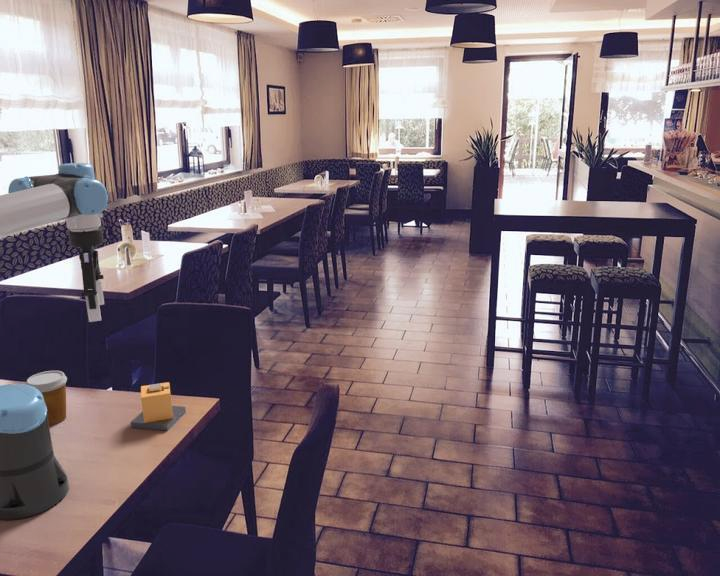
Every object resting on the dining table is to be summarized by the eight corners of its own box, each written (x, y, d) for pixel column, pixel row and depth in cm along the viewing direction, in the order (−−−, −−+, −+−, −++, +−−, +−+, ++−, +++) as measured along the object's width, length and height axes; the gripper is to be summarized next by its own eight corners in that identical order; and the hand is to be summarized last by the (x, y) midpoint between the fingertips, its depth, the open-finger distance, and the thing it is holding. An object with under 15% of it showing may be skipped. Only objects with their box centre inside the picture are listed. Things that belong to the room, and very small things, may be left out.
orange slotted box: (144, 422, 151) (140, 397, 149) (144, 410, 157) (140, 385, 155) (173, 418, 153) (170, 392, 151) (171, 406, 160) (169, 381, 158)
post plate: (167, 430, 150) (163, 396, 147) (131, 427, 152) (126, 393, 149) (185, 411, 159) (182, 379, 157) (151, 409, 161) (147, 376, 159)
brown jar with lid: (80, 412, 160) (74, 370, 157) (57, 430, 151) (50, 386, 148) (49, 409, 162) (41, 368, 158) (24, 427, 153) (15, 384, 149)
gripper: (98, 236, 134) (111, 326, 140) (104, 219, 157) (114, 297, 162) (61, 239, 131) (75, 330, 137) (73, 221, 154) (84, 300, 160)
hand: (97, 312), depth 150 cm, fingers open, 13 cm apart
